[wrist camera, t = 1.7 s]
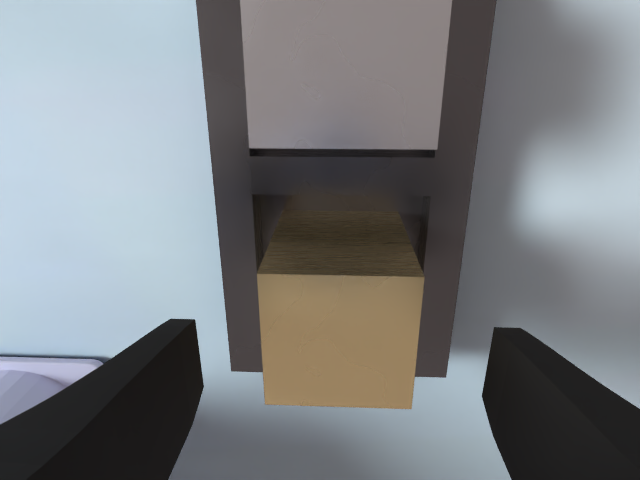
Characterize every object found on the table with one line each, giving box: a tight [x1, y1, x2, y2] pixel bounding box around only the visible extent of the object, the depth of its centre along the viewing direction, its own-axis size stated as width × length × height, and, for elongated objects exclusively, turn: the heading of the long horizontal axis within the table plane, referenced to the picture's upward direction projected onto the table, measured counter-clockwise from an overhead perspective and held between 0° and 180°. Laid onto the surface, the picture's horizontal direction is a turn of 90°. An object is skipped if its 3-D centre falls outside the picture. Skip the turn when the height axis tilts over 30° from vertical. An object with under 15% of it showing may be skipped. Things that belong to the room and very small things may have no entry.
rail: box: [196, 0, 496, 377], centre depth 13 cm, size 22×8×2 cm, turn 0°
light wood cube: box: [257, 210, 425, 409], centre depth 13 cm, size 4×4×5 cm
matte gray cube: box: [240, 0, 452, 150], centre depth 11 cm, size 4×4×5 cm
